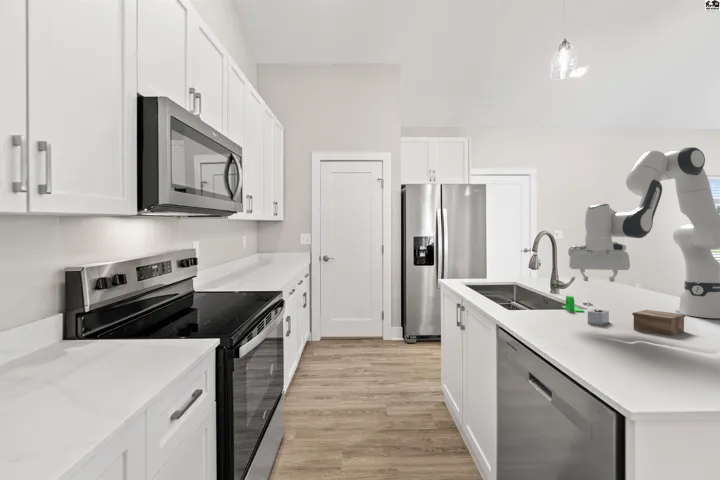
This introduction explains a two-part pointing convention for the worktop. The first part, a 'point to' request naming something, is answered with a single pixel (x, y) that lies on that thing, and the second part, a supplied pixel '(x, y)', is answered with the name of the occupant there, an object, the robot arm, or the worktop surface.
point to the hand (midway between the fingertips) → (598, 281)
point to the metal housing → (598, 317)
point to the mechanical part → (571, 305)
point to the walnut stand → (659, 322)
